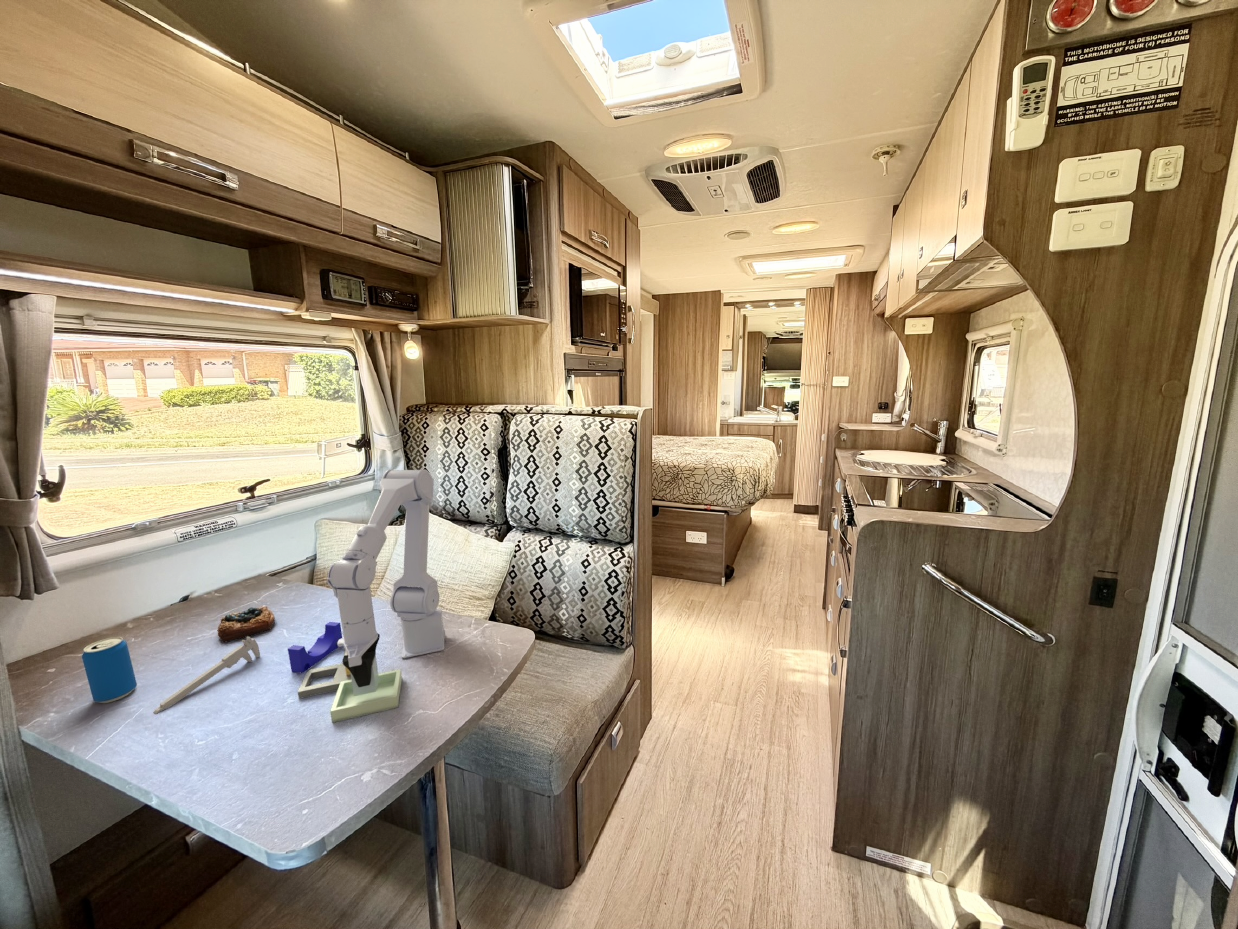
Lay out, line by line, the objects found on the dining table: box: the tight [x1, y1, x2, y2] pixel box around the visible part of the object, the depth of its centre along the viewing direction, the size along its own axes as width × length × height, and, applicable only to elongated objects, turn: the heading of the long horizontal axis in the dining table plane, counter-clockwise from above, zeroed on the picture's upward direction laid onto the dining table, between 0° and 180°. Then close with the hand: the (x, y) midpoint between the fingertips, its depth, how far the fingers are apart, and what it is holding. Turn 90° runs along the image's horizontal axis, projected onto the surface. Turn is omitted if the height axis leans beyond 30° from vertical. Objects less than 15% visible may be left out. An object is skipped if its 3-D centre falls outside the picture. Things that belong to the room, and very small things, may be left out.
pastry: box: [216, 606, 276, 643], centre depth 126 cm, size 11×12×6 cm
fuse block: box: [297, 651, 351, 699], centre depth 103 cm, size 12×8×6 cm, turn 110°
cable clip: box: [287, 621, 343, 674], centre depth 112 cm, size 12×4×6 cm, turn 168°
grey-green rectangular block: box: [350, 651, 379, 696], centre depth 96 cm, size 4×4×7 cm
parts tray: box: [329, 668, 403, 724], centre depth 97 cm, size 12×10×2 cm
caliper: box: [153, 636, 261, 715], centre depth 104 cm, size 20×1×6 cm, turn 162°
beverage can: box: [81, 636, 138, 704], centre depth 100 cm, size 6×6×12 cm
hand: (366, 678), depth 96 cm, fingers closed on grey-green rectangular block, 4 cm apart
